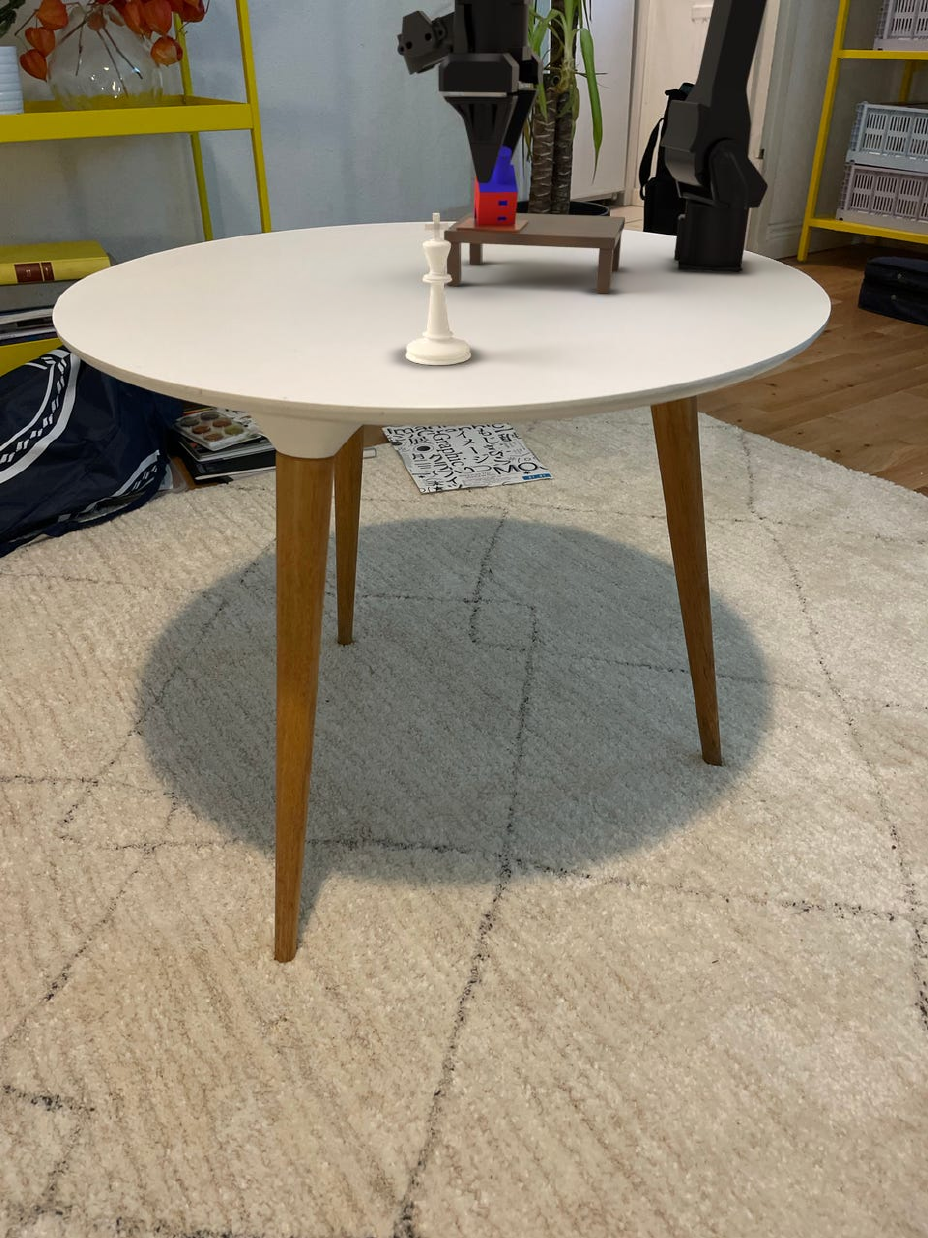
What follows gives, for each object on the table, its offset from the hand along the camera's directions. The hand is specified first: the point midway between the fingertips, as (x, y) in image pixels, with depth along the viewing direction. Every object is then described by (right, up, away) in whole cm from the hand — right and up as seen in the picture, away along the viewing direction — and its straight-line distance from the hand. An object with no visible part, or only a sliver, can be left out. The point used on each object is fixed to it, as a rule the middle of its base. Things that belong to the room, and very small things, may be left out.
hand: (493, 176), depth 90 cm
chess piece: (-5, -22, -18) cm, 29 cm away
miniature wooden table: (+5, -7, +6) cm, 10 cm away
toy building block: (0, -4, +2) cm, 4 cm away
